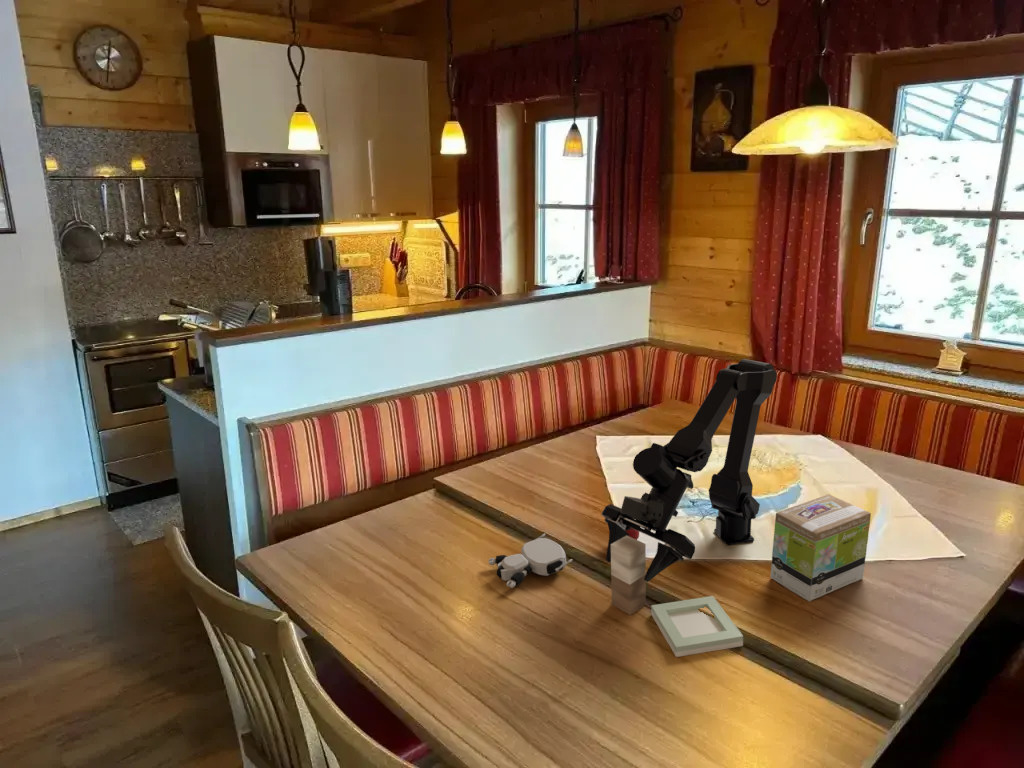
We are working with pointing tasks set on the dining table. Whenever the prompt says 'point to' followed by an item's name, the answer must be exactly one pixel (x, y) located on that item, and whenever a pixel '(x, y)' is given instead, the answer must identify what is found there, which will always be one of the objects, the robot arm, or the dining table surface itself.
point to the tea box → (819, 546)
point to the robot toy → (531, 561)
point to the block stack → (628, 574)
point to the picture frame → (696, 626)
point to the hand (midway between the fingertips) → (626, 571)
